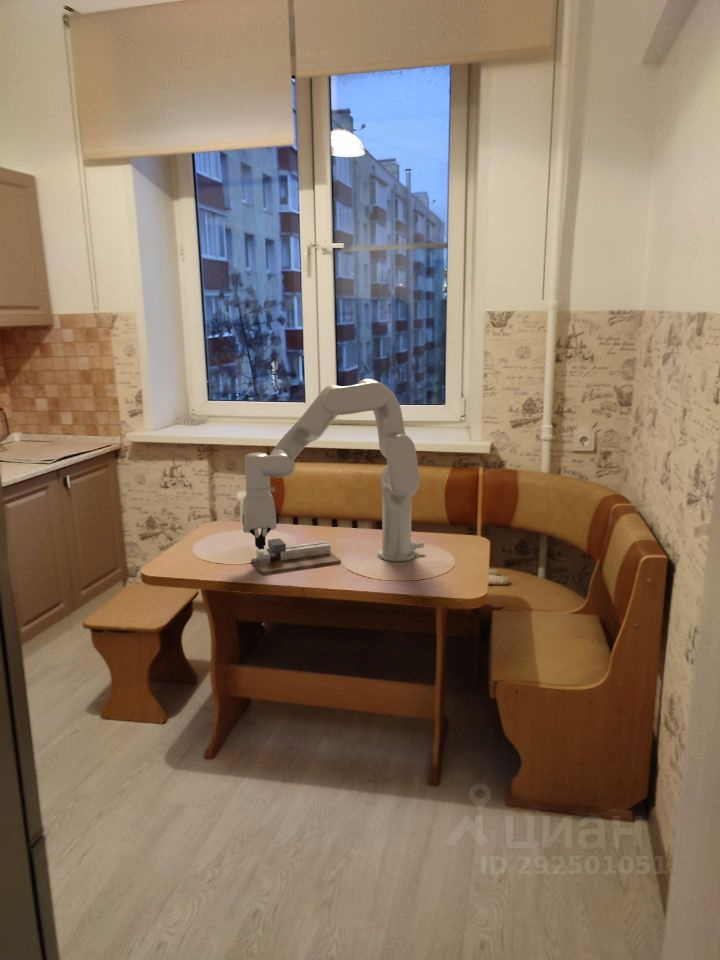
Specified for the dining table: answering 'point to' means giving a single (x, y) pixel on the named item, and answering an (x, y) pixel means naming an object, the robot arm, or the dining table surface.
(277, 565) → the cutting board
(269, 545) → the lock slider
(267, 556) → the tongs frame
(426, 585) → the dining table surface
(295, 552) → the grey rectangular bar
